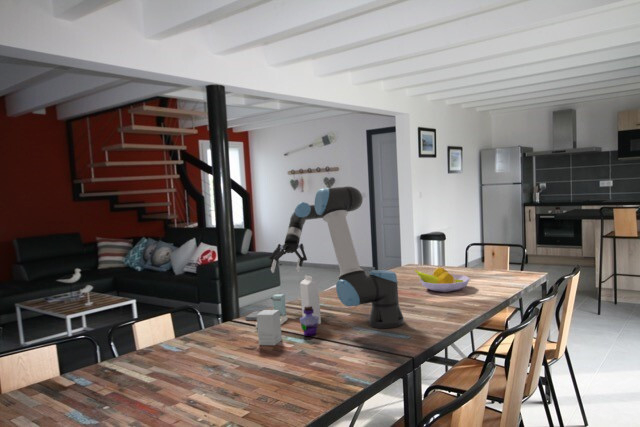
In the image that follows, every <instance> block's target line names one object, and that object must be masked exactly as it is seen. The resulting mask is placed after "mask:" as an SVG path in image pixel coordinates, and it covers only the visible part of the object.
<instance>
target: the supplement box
mask: <svg viewBox="0 0 640 427" xmlns="http://www.w3.org/2000/svg"><path fill="white" fill-rule="evenodd" d="M256 317H257V320H256V323H257V328H256V329H257V336H258V345H259V346H277V345H278V344H280V342H281V341H282V340H283V337H282V327H281V325H282V324H280V313H279V310H273V309H263V310H262V311H261V312H260V313H258V314H257V315H256Z"/></svg>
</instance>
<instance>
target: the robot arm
mask: <svg viewBox="0 0 640 427" xmlns="http://www.w3.org/2000/svg"><path fill="white" fill-rule="evenodd" d="M363 200H364V198H363V194H362V192H360V190H359V189H357V188H355V187H353V186H349V185H348V186H339V187H337V186H336V187H326V188H320V189H318V190H317V192H316V194H315V197H314V204H309V203H308V202H305V201H301V202H299V203H298V204H297V205H296V207H295V208H294V212H293V213H292V214H291V216H290V218H289V219H290V220H289V223H288V224H289V225H288V228H287V231H286V236H285V240H284V243H283V245H282V244H281V243H278V244H277V247H276V248H275V249H274V251H273V252H272V253H271V254H270V255H269V257H268V258H269V261H271V262H270V266H271V267H270V272H271V273H272V274H274V273H275V271H276V270H275V269H276V267H277V266H276V265H277V261H278V260H279V259H280V258H281V257H283V255H286V254H293V253H294V254H295V255H296V256H297V257H298V259H297V264H296V268H295V272H296V273H297V274H299V273H300V269H301V267H303V263H304V262H306V261H307V260H308V258H307V254H306V253H305V246H304V244H303V243H300V242H301V236H302V234H303V233H302V232H303V228H304V226H305V223H306V221H307V220H316V219H322V220H323V221H324V222H325V223H327V227H328V230H329V233H330V238H331V241H332V242H331V243H332V244H333V245H332V246H333V249H334V253H335V256H336V257H335V258H336V260H337V265H338V268H339V271H340V273H339V276H338V277H337V278H338V280H337V281H336V284H335V287H336V288H335V291H336V295H337V297H338V299H339V301H340V302H341V304H342V305H344V306H345V307H358V306H359V305H360V306H361V305H366V304H371V310H370V314H369V317H368V324H369V326H371V327H372V328H376V329H394V328H399V327H401V326H403V325H404V323H405V318H404V315H403V312H402V310H401V308H400V307H401V306H400V305H399V304H400V303H399V288H398V287H399V286H398V283H399V282H398V277H397V273H396V272H394V271H391V270H382V269H374V270H373V269H371V270H370V271H369V273H368V275H366V272H365V270H364V269H363V268H361V267H360V262H359V259H358V256H357V252H356V249H355V245H354V242H353V239H352V235H351V232H350V227H349V224H348V221H347V216H348V214H349V213H350V212H354V211H356V210H358V209H359V208H361V206H362V204H363ZM298 249H300V251H301V253H299V251H298ZM301 254H302V255H301Z"/></svg>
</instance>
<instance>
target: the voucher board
mask: <svg viewBox="0 0 640 427" xmlns="http://www.w3.org/2000/svg"><path fill="white" fill-rule="evenodd" d="M287 320H288V315H287V314H286V315H280V324H281V325H283V324H284V323H285V322H286V321H287ZM255 329H258V328H257V322H256V323H255Z"/></svg>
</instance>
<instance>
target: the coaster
mask: <svg viewBox="0 0 640 427" xmlns="http://www.w3.org/2000/svg"><path fill="white" fill-rule="evenodd" d="M260 312H261V311H259V310H257V311H255V310H254V311H253V312H251V313H249V314H248V315H246V316H245V321H257V317H256V315H257V314H258V313H260Z"/></svg>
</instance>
